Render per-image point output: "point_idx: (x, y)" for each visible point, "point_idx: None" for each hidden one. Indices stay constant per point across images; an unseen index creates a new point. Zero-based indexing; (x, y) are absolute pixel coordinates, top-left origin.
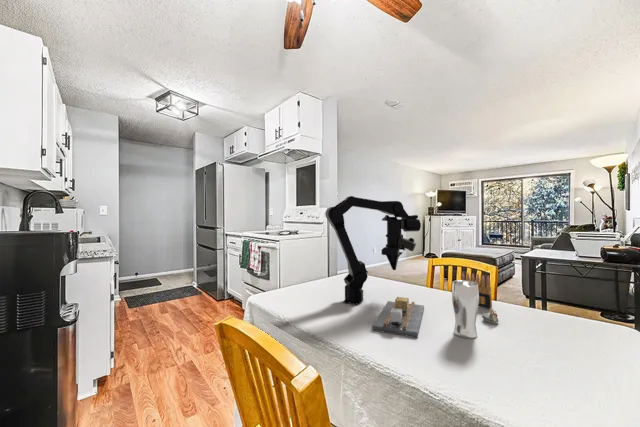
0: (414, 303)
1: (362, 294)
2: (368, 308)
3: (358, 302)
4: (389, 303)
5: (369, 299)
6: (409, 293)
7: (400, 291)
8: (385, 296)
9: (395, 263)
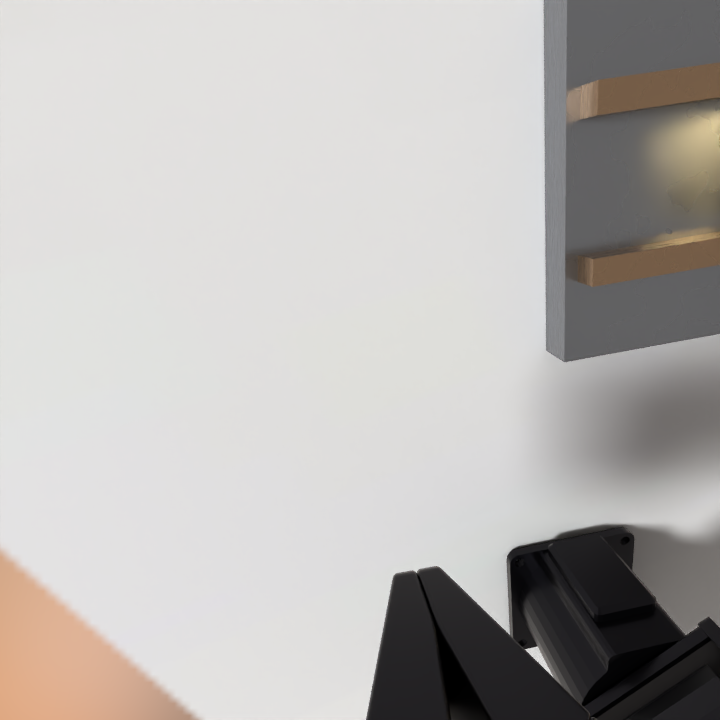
0: (615, 78)
1: (605, 576)
2: (674, 441)
3: (613, 543)
4: (626, 327)
5: (465, 523)
6: (46, 295)
7: (41, 402)
8: (313, 457)
9: (568, 708)
